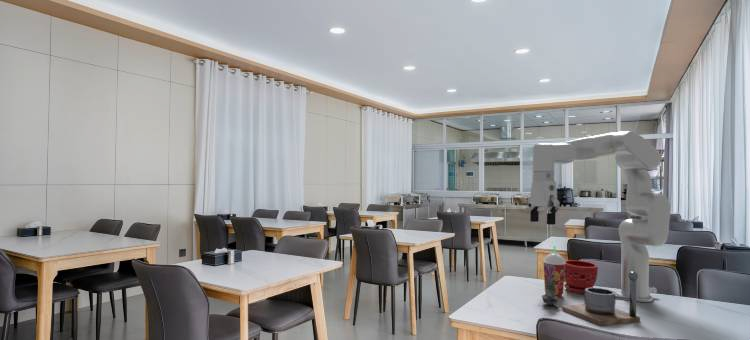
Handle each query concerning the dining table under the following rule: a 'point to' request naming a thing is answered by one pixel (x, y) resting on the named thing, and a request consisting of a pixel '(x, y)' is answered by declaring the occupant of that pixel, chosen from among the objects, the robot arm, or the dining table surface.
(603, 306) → the cup bracket
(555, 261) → the smoothie
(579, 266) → the plant pot
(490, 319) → the dining table surface
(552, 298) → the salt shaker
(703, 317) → the dining table surface
